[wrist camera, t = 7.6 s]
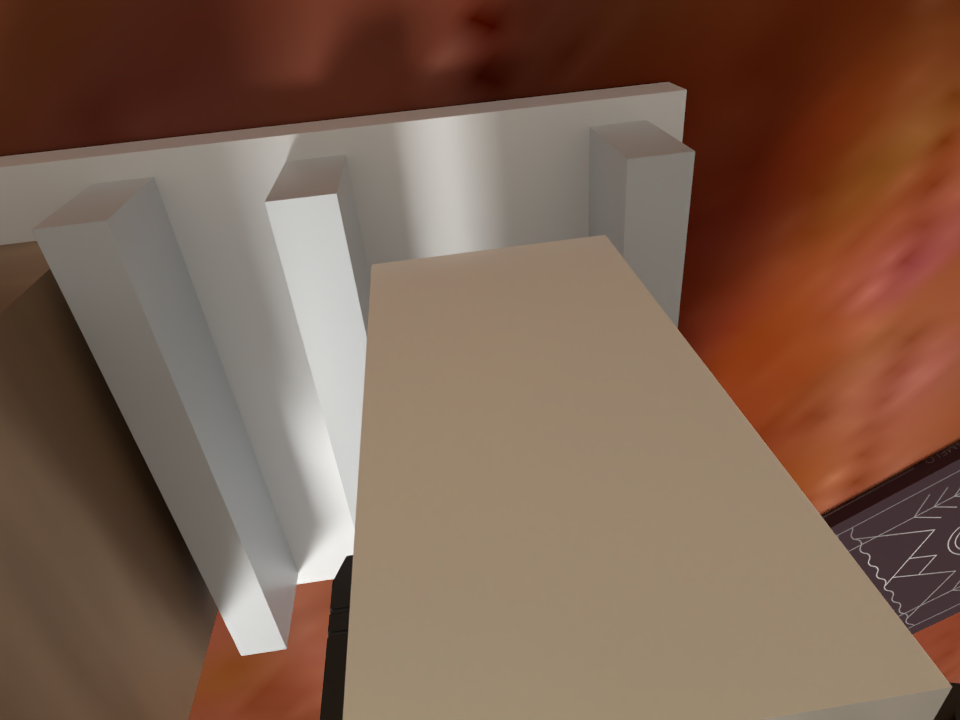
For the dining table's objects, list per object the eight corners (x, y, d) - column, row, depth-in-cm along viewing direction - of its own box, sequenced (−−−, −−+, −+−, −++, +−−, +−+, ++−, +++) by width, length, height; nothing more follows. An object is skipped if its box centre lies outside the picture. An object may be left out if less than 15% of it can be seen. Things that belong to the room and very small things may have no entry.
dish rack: (669, 81, 14) (744, 115, 11) (637, 508, 21) (678, 599, 18) (-256, 185, 13) (-451, 254, 10) (41, 596, 20) (-20, 707, 17)
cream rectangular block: (605, 234, 11) (952, 686, 4) (596, 601, 16) (740, 1053, 10) (371, 264, 11) (339, 791, 4) (442, 626, 16) (477, 1106, 9)
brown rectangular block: (87, 234, 13) (-240, 530, 6) (231, 558, 18) (138, 903, 12) (-116, 258, 13) (-676, 591, 6) (90, 579, 18) (-86, 942, 12)
